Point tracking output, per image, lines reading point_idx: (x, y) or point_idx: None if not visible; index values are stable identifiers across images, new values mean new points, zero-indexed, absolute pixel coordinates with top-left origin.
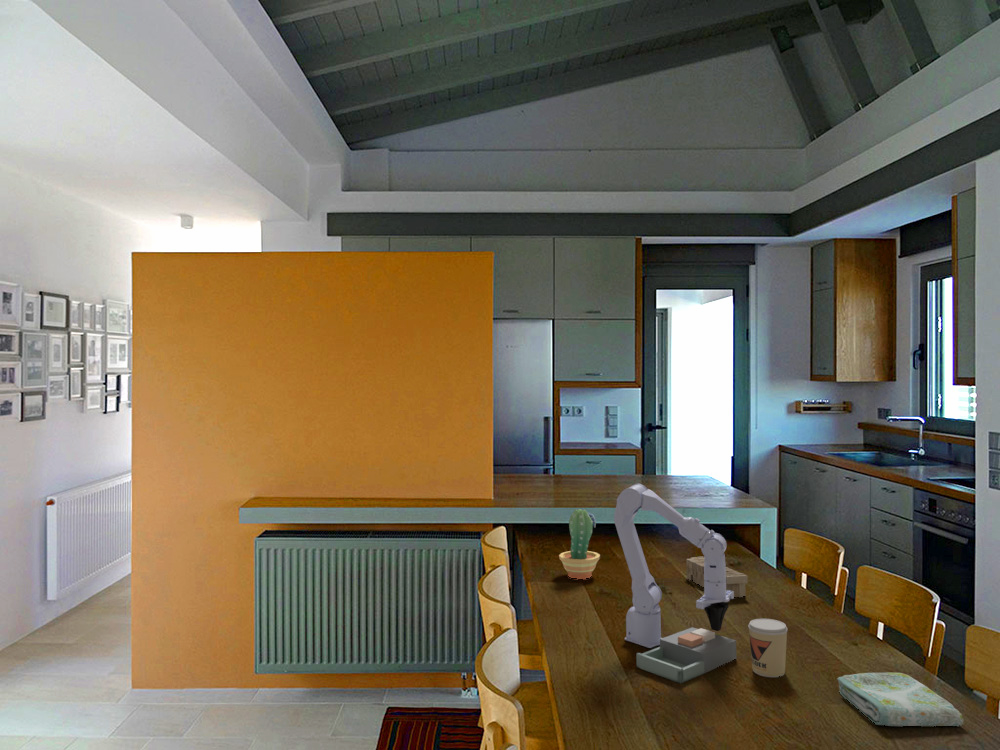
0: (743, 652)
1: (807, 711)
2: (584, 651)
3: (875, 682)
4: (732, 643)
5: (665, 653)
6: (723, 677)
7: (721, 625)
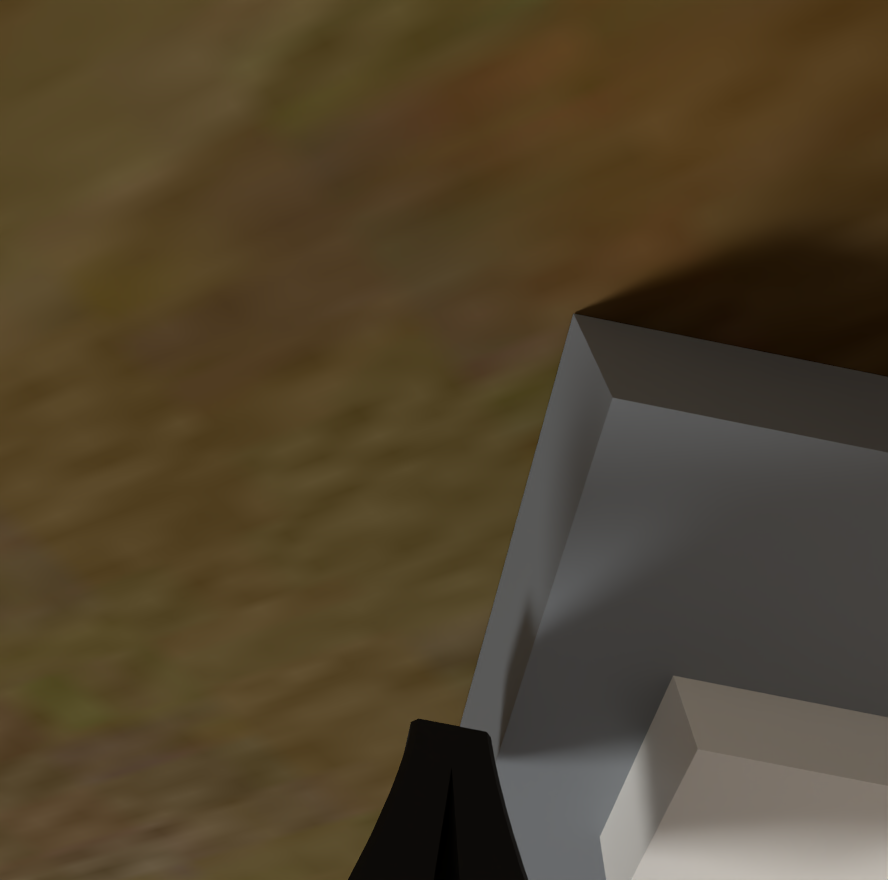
0: (305, 332)
1: None
2: None
3: None
4: (715, 408)
5: None
6: None
7: (406, 773)
